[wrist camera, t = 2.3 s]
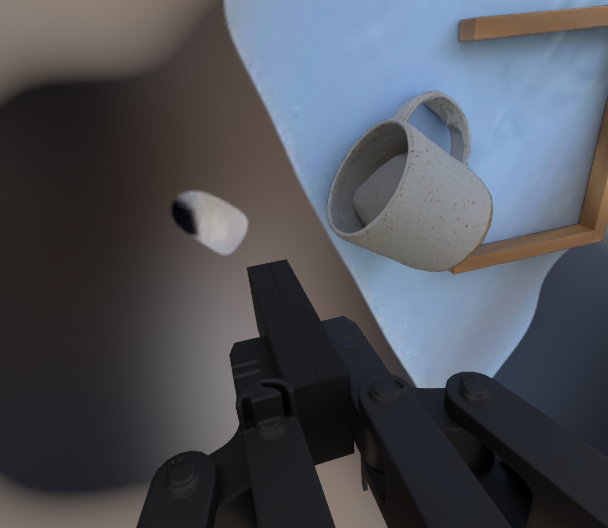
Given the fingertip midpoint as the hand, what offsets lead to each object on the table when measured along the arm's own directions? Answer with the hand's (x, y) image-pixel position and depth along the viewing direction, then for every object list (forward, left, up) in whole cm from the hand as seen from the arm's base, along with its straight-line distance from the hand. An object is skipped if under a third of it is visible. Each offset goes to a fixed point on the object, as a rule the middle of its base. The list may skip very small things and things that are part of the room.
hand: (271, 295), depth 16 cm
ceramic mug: (0, +11, -13) cm, 17 cm away
